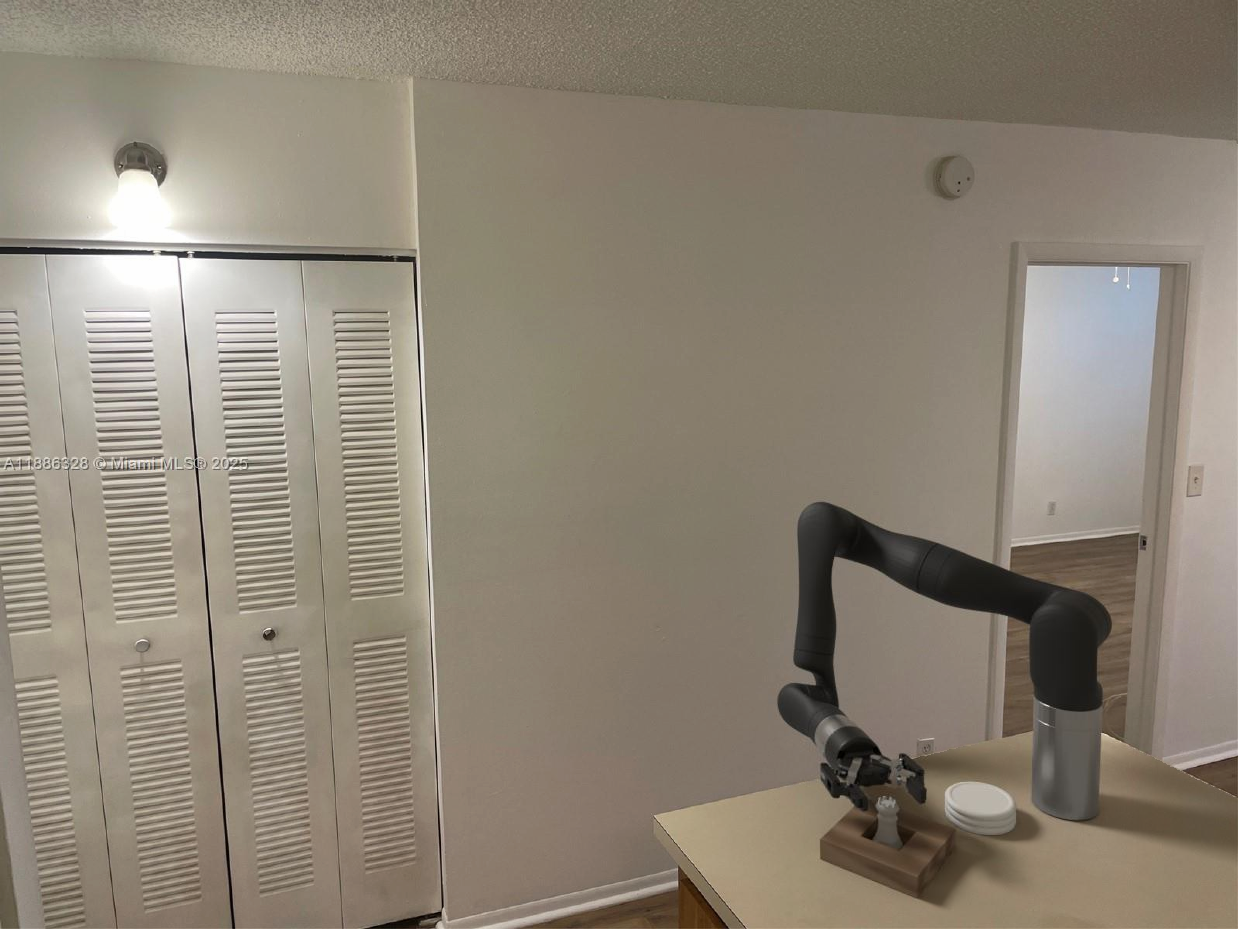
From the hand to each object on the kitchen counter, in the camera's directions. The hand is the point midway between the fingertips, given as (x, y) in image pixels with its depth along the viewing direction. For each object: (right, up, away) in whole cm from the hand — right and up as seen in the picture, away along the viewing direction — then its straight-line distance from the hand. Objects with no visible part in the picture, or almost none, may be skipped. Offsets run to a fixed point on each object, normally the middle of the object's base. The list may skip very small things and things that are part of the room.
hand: (894, 801), depth 116 cm
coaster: (+17, -7, +11) cm, 21 cm away
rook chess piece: (0, -9, +3) cm, 9 cm away
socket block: (0, -9, +3) cm, 9 cm away
